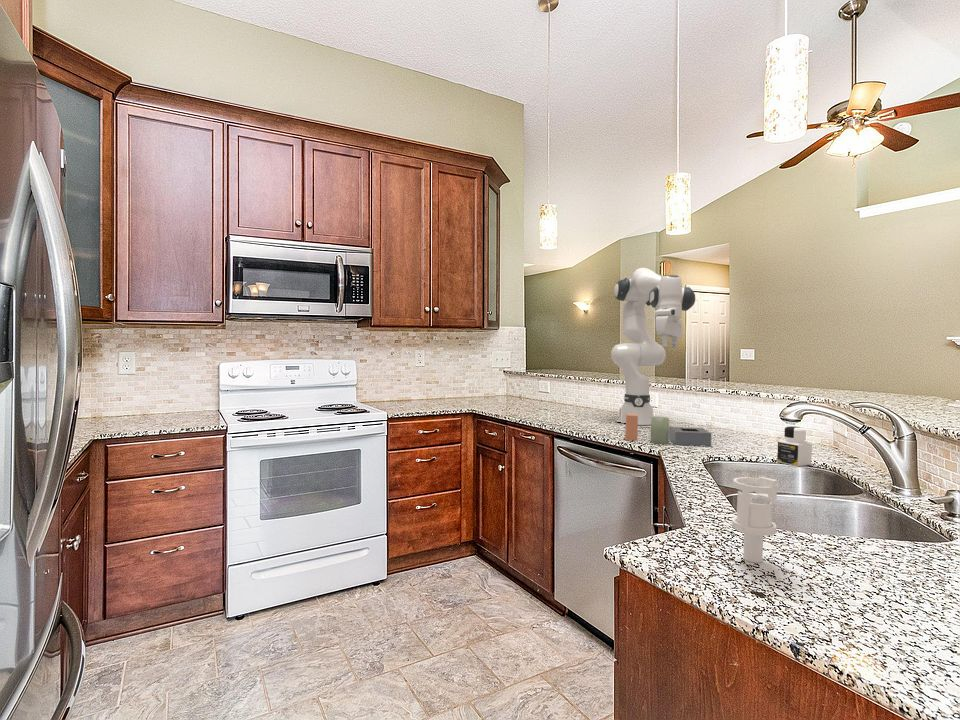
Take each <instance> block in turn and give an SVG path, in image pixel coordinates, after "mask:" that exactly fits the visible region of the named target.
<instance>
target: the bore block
mask: <svg viewBox="0 0 960 720" xmlns="http://www.w3.org/2000/svg"><path fill="white" fill-rule="evenodd" d="M669 439H670V440H671V441H670V440H669V441H670V442H672V443H673V444H674V445H675V446H688V445H705V446H704V447H712V432H710V431H708V430H707V429H705V428H703V427H685V426H684V427H682V426H681V427H680V426H678V427H677V426H669Z"/></svg>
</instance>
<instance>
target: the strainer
mask: <svg viewBox="0 0 960 720" xmlns="http://www.w3.org/2000/svg"><path fill="white" fill-rule="evenodd" d="M732 481H733V482H732V487H733V488H735V489H737V490H738V491H737V501H736V516H733V518H732V519H731V527H732V528H733V529H734V530H737V531H739V532H740V533H741V532H742V533H743V556H742V558H743V559H744V560H745V561H747V562H749V563H756V564H760V563H762V562H763V561H764V559H763V556H764V553H763V551H764V536H774V535H775V534H777V530H778V529H777V524H776V523H775V522H773V502H774V501H775V502H776V501H777V499H778V498H777V497H778V496H777V495H778V492H779V484H778V479H773V478H768V477H767V476H759V477H744V476H743V477H742V476H741V477H734V478H733V479H732ZM754 492H755V494H757V495H756V496H757V497H753V493H754ZM771 501H772V502H771Z"/></svg>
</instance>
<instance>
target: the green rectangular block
mask: <svg viewBox="0 0 960 720" xmlns="http://www.w3.org/2000/svg"><path fill="white" fill-rule="evenodd" d="M669 427H670V418H669V417H667V416H653V417H651V425H650V444H651V443H654V444H653V445H655V444H662V445H661V446H665V445H664V444H668V445H669V441H670V440H669Z"/></svg>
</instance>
